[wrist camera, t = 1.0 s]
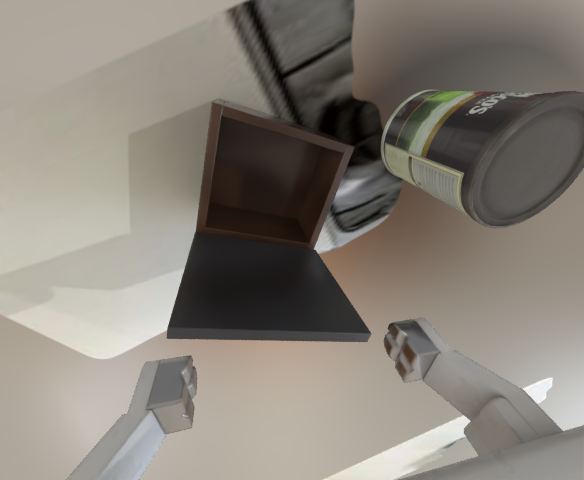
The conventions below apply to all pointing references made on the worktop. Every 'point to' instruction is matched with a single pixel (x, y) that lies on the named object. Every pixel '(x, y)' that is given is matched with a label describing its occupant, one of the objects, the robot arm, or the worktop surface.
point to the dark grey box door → (260, 295)
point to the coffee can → (488, 150)
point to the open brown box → (267, 177)
